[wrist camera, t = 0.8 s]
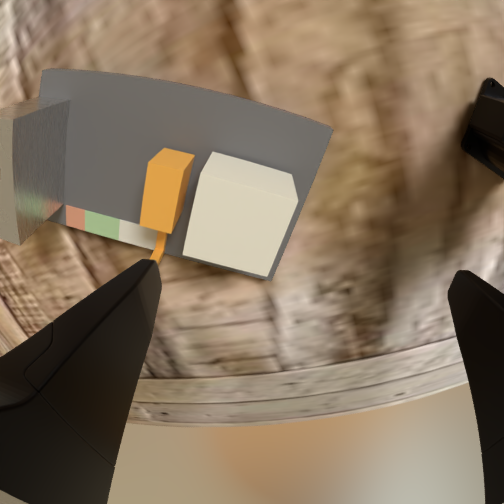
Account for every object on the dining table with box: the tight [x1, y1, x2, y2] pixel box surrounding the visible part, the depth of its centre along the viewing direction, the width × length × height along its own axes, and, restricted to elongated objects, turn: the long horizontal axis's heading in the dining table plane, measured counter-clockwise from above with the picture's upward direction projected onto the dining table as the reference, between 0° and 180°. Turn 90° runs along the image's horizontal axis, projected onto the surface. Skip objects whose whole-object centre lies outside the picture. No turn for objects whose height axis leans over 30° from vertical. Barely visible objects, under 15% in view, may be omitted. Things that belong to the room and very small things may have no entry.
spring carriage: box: [182, 152, 298, 277], centre depth 18 cm, size 5×5×4 cm
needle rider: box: [139, 148, 195, 265], centre depth 19 cm, size 2×8×4 cm, turn 163°
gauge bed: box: [0, 69, 333, 281], centre depth 17 cm, size 20×12×7 cm, turn 73°
